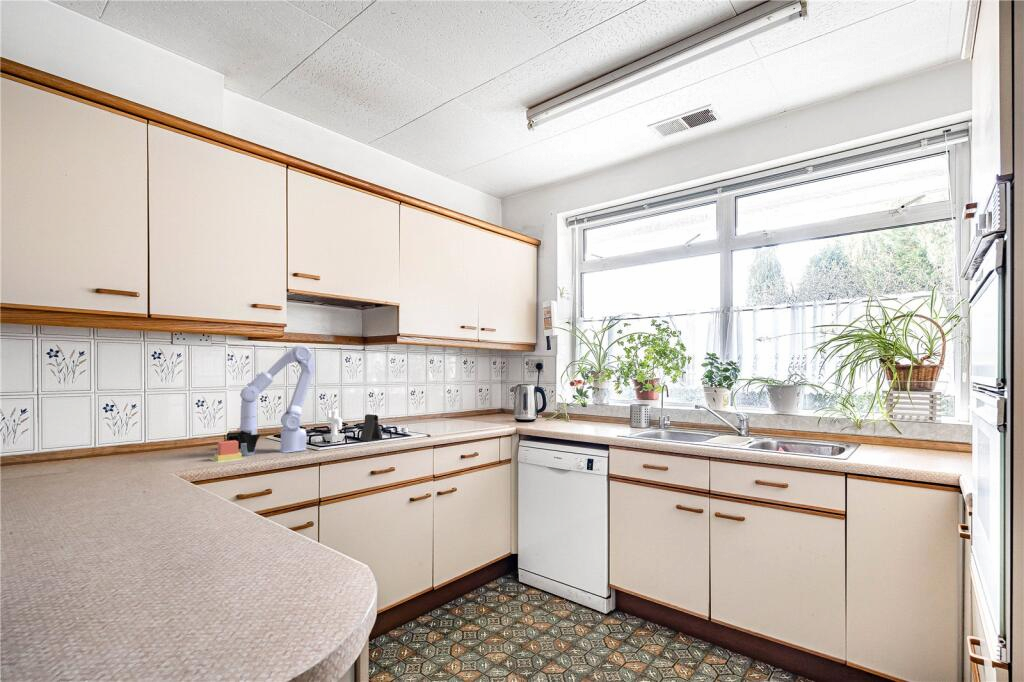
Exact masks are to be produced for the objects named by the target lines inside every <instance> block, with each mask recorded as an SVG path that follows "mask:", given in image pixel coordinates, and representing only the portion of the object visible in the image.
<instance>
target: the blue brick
mask: <svg viewBox="0 0 1024 682" xmlns="http://www.w3.org/2000/svg"><path fill="white" fill-rule="evenodd" d="M240 453H242V456H244V457H246V456H251V455H254V456H255V454H256V449H255V450H254V452H249V453H248V451H247V443H242V444H241V449H240Z"/></svg>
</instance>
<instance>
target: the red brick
mask: <svg viewBox="0 0 1024 682" xmlns="http://www.w3.org/2000/svg"><path fill="white" fill-rule="evenodd" d="M238 452H239V449H238V441H236V440H233V441H227V440H225V441H224V440H223V441H218V442H217V454H219V455H229V454H237V453H238Z"/></svg>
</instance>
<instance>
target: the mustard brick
mask: <svg viewBox="0 0 1024 682" xmlns="http://www.w3.org/2000/svg"><path fill="white" fill-rule="evenodd" d="M242 456H243V455H242V453H241V451H238V453H237V454H229V455H219V454H218V453H214V457H213V458H214V459H215V460H217V461H225V460H233V459H241V458H242Z"/></svg>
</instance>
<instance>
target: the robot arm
mask: <svg viewBox="0 0 1024 682" xmlns="http://www.w3.org/2000/svg"><path fill="white" fill-rule="evenodd" d="M295 362H296V363H298V366H299V367H300V369H301V372H300V374H299V377H298V380H297V382H296V385H295V388H294V392H293V394H292V396H291V399H290V403H289V405H288V407H287V408H286V411H285V413H283V414H282V416H281V417H280V422H281V425H282V427H281V428H280V448H277V449H276V451H278V452H280V453H283V454H285V453H293V452H294V453H296V452H303V451H307V431H306V429H305V428H301V427H300V426H301V423H302V419H301V416H302V411H303V409H302V408H303V405H304V401H305V399H306V398H307V397H306V396H307V394H308V391H309V387H310V384H311V382H312V379H313V375H314V373H315V370H316V365H315V361H314V356H313V352H312V351H311V350H310V349H309V346H306V345H296V346H294V347H292V348H291V349H290V350H288V351H287V352H285V353H284V354H283V355H282V356H281V357H280V358H279V359H278V360H277V361H276V362H275V363H274V364H273V365H272V366H271V367H270V368H269V369H268V370H267V371H262V372H260V373H257V374H256V376H255V378H254V379H253V380H252V381H251V382H248V383H247V386H245V387H243V388H242V389H241V391H240V394H239V396H240V398H241V401H240V402H241V405H240V425H239V427H237V428H236V431H239V432H237V433H236V434H237V436H238V438H239V441H240V445H241V444H242V443H247V451H248V453H249V452H254V450H255V451H256V447H257V442H258V440H259V439H260V437H261V433H258V428H257V419H258V418H257V416H258V415H257V414H258V412H257V410H258V405H257V400H258V398H259V394H262V392H264V391H265V390H266V389H267V388H268V386H270V385H271V384H272V383H273V381H274V380H273V379H274V377H275V376H276V375H277V374H278V373H279V372H281V370H283V368H285V367H286V366H287V365H288V364H291V363H295Z"/></svg>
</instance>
